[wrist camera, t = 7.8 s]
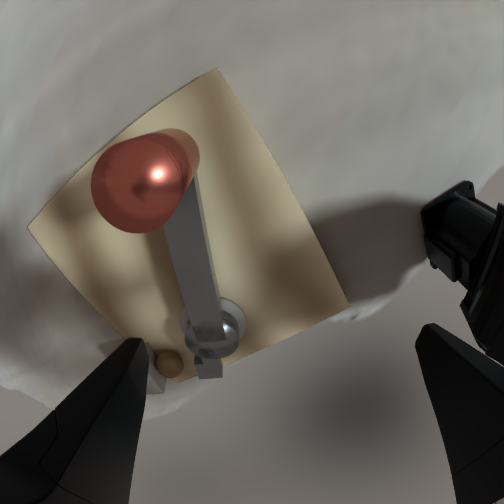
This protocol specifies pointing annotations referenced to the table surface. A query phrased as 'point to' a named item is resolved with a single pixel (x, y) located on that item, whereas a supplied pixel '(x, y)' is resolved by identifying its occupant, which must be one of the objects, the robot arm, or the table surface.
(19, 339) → the table surface
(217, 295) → the lever
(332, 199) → the table surface
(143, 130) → the board
